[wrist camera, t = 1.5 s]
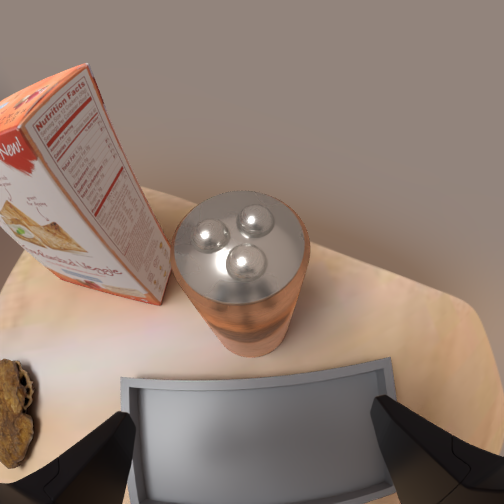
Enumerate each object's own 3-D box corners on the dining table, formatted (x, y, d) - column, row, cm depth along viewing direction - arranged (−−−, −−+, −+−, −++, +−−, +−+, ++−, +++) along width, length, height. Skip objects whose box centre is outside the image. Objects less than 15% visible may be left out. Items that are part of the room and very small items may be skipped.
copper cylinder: (302, 323, 23) (344, 232, 11) (248, 372, 21) (226, 339, 9) (253, 275, 26) (244, 158, 14) (201, 319, 24) (138, 229, 12)
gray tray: (389, 483, 15) (400, 490, 13) (142, 501, 15) (131, 509, 12) (378, 361, 21) (390, 356, 19) (133, 379, 21) (120, 376, 19)
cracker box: (61, 284, 26) (-59, 160, 8) (80, 240, 29) (-15, 107, 11) (161, 311, 24) (11, 123, 6) (178, 256, 27) (92, 54, 9)
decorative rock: (10, 339, 23) (-13, 422, 16) (-12, 329, 19) (-33, 417, 13) (55, 392, 20) (30, 480, 13) (27, 386, 16) (6, 481, 10)
